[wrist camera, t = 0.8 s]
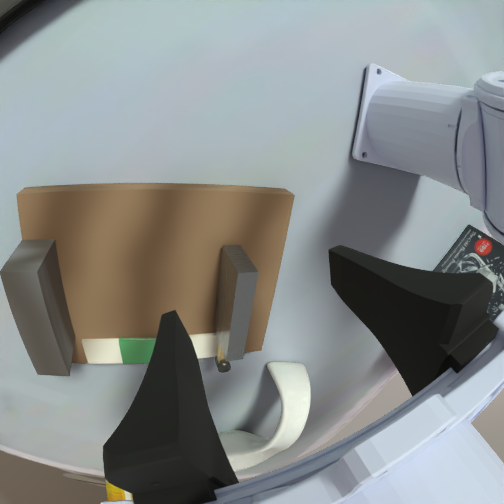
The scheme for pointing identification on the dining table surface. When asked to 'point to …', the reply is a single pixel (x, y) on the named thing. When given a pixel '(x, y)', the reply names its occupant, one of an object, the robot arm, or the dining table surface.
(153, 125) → the dining table surface
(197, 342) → the board
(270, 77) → the dining table surface
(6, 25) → the electric trimmer
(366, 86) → the robot arm
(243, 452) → the spoon rest
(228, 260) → the pad
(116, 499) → the supplement bottle
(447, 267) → the small box
